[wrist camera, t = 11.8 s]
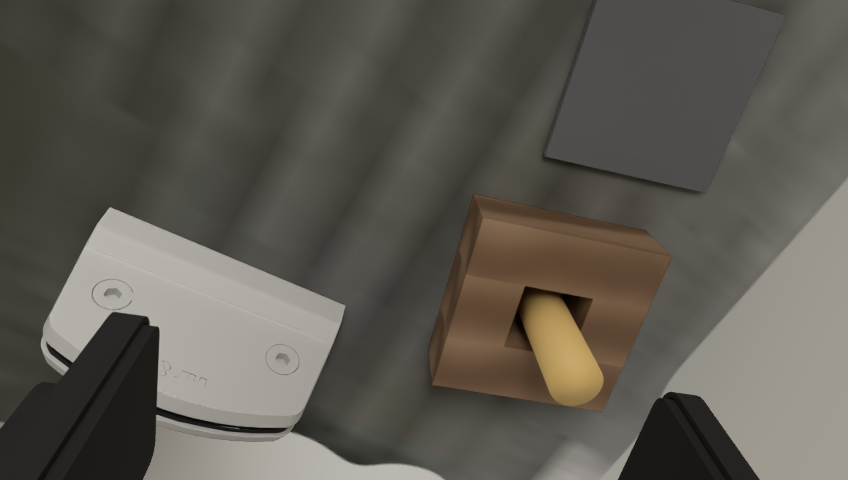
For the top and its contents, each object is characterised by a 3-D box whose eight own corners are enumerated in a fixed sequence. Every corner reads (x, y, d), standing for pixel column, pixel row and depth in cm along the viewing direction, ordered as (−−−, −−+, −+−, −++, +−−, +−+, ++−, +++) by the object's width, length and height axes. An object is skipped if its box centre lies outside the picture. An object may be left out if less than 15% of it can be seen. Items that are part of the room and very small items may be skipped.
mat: (605, -35, 34) (608, -35, 33) (779, 14, 35) (786, 15, 35) (542, 153, 38) (545, 156, 37) (701, 189, 40) (705, 193, 39)
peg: (520, 269, 41) (559, 356, 32) (561, 277, 42) (611, 365, 33) (506, 306, 42) (541, 401, 33) (547, 314, 43) (592, 409, 34)
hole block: (473, 194, 39) (483, 218, 35) (645, 230, 41) (672, 256, 37) (428, 349, 43) (432, 384, 40) (584, 375, 45) (602, 411, 42)
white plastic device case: (351, 307, 42) (317, 441, 34) (325, 344, 44) (289, 474, 37) (103, 204, 37) (3, 330, 30) (93, 251, 40) (0, 377, 33)
